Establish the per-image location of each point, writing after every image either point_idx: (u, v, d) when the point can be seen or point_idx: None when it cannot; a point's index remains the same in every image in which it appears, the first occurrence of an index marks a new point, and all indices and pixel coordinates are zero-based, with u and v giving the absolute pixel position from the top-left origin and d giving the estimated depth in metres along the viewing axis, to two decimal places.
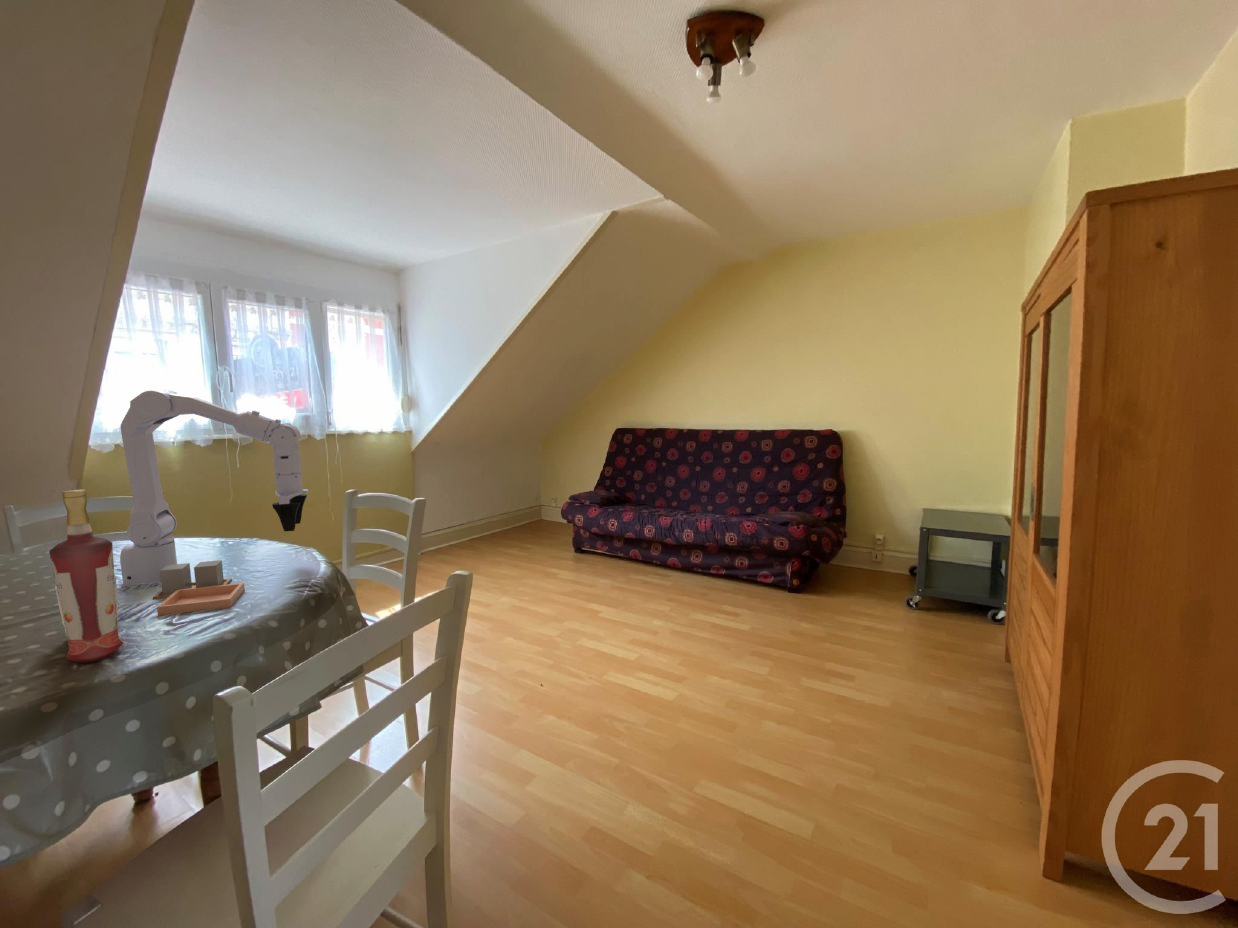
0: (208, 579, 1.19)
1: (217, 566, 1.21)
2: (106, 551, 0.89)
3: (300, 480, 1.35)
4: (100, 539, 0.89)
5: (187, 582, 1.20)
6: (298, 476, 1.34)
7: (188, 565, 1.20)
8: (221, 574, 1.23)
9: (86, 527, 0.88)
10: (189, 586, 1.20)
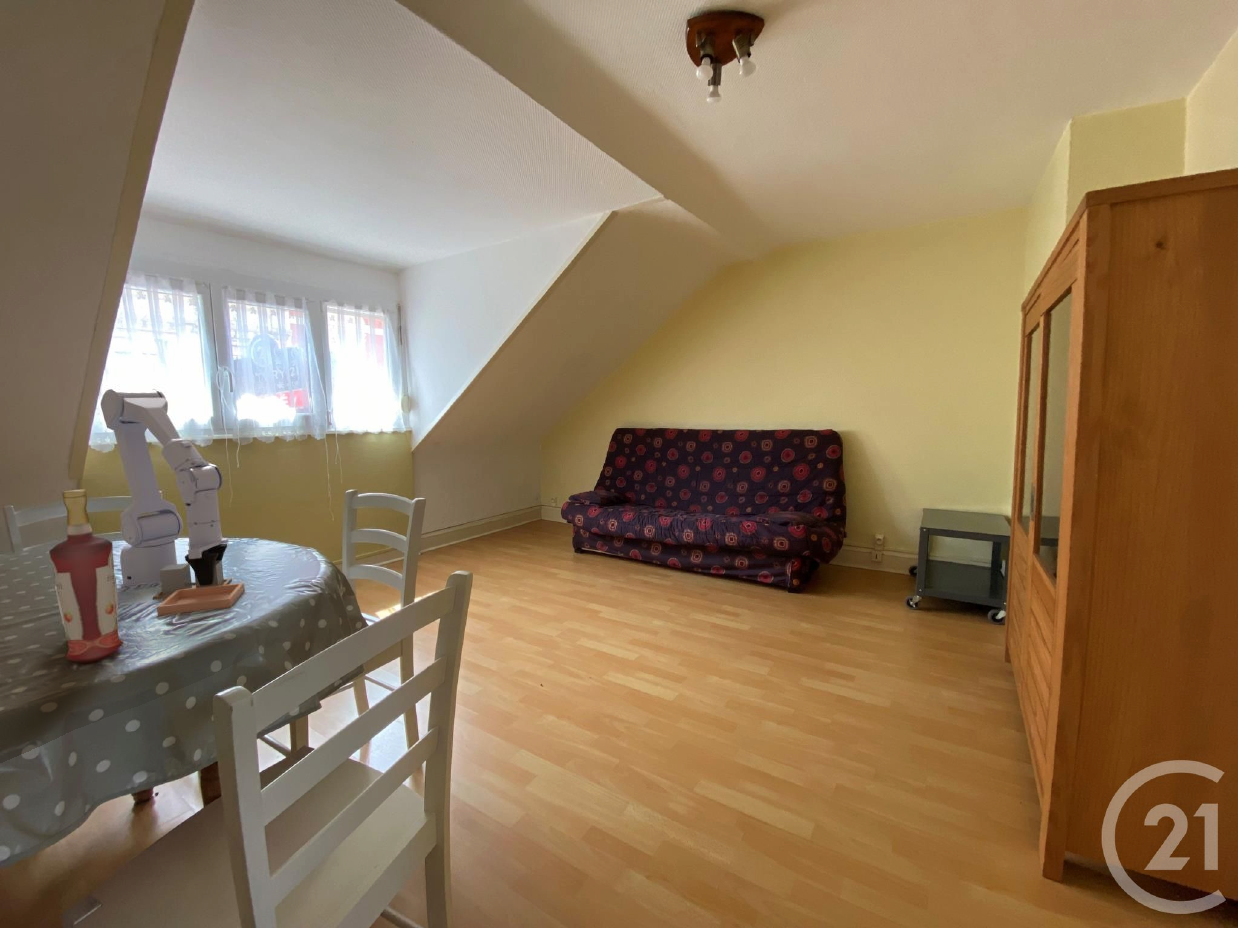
0: None
1: (217, 566, 1.21)
2: (106, 551, 0.89)
3: (217, 529, 1.20)
4: (100, 539, 0.89)
5: (187, 582, 1.20)
6: (215, 525, 1.19)
7: (188, 565, 1.20)
8: (221, 574, 1.23)
9: (86, 527, 0.88)
10: (189, 586, 1.20)
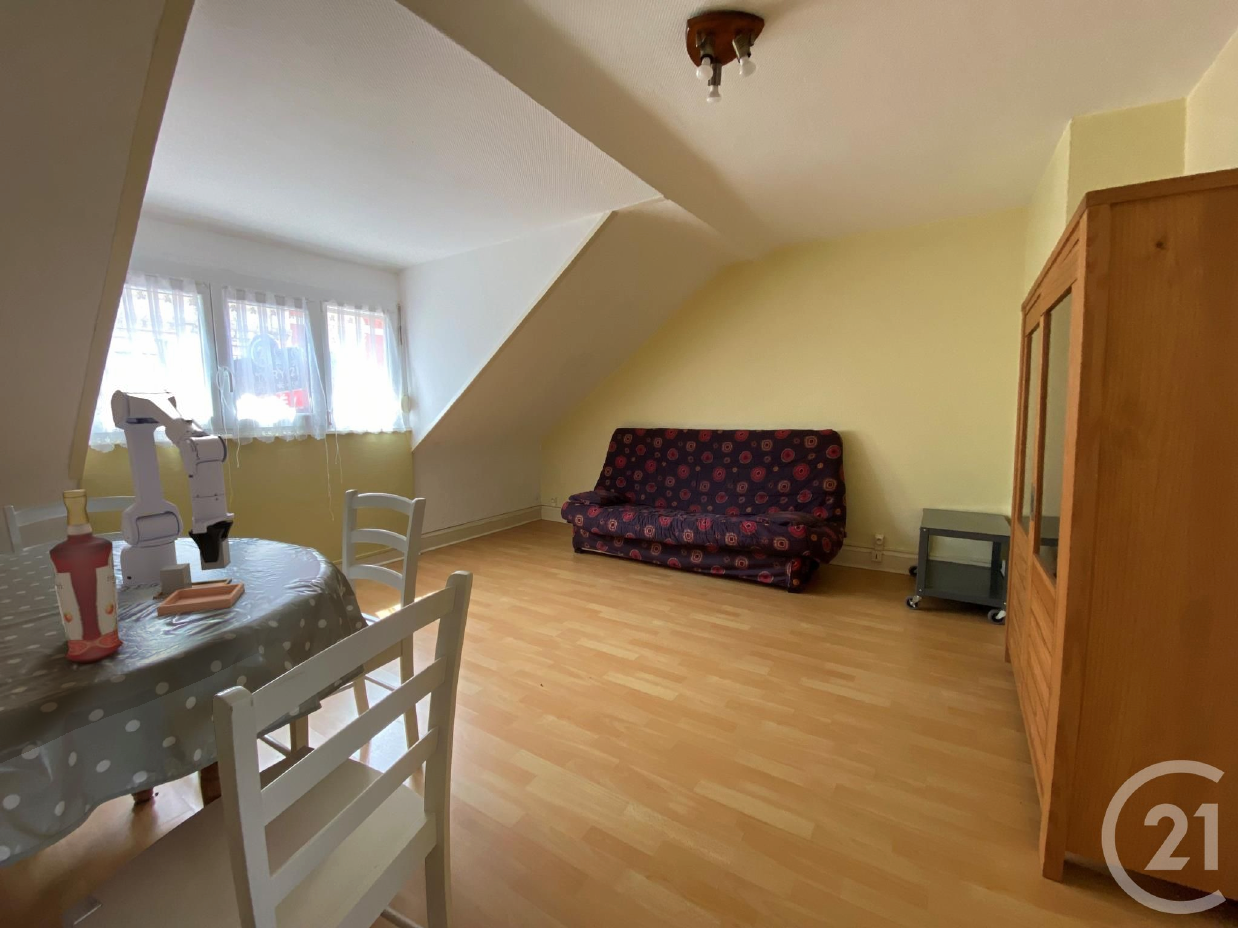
0: None
1: (224, 543, 1.13)
2: (106, 551, 0.89)
3: (223, 503, 1.13)
4: (100, 539, 0.89)
5: (187, 582, 1.20)
6: (220, 498, 1.12)
7: (188, 565, 1.20)
8: (228, 552, 1.16)
9: (86, 527, 0.88)
10: (189, 586, 1.20)
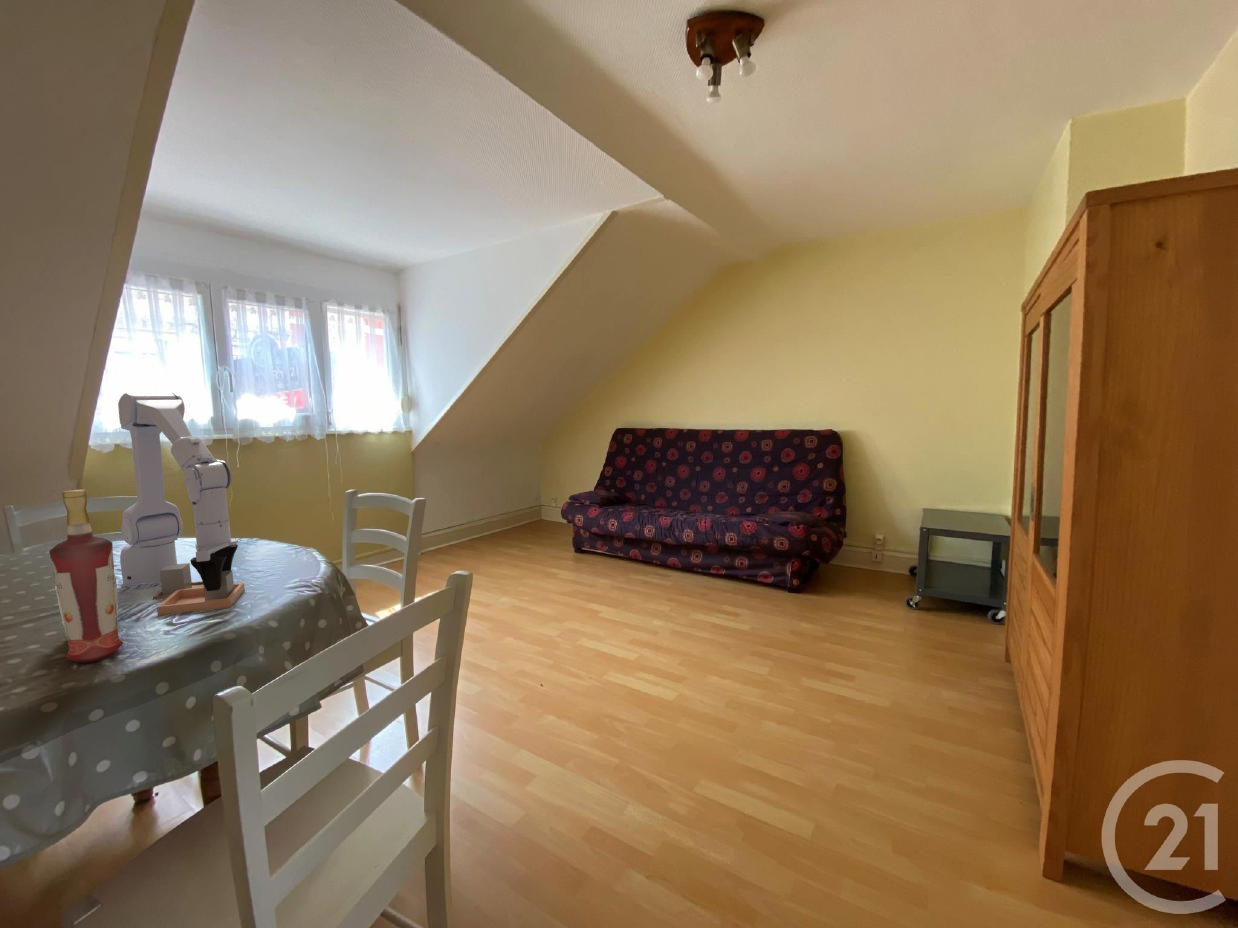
0: (218, 591, 1.12)
1: (228, 577, 1.13)
2: (106, 551, 0.89)
3: (227, 529, 1.12)
4: (100, 539, 0.89)
5: (187, 582, 1.20)
6: (224, 525, 1.11)
7: (188, 565, 1.20)
8: (232, 585, 1.15)
9: (86, 527, 0.88)
10: (189, 586, 1.20)
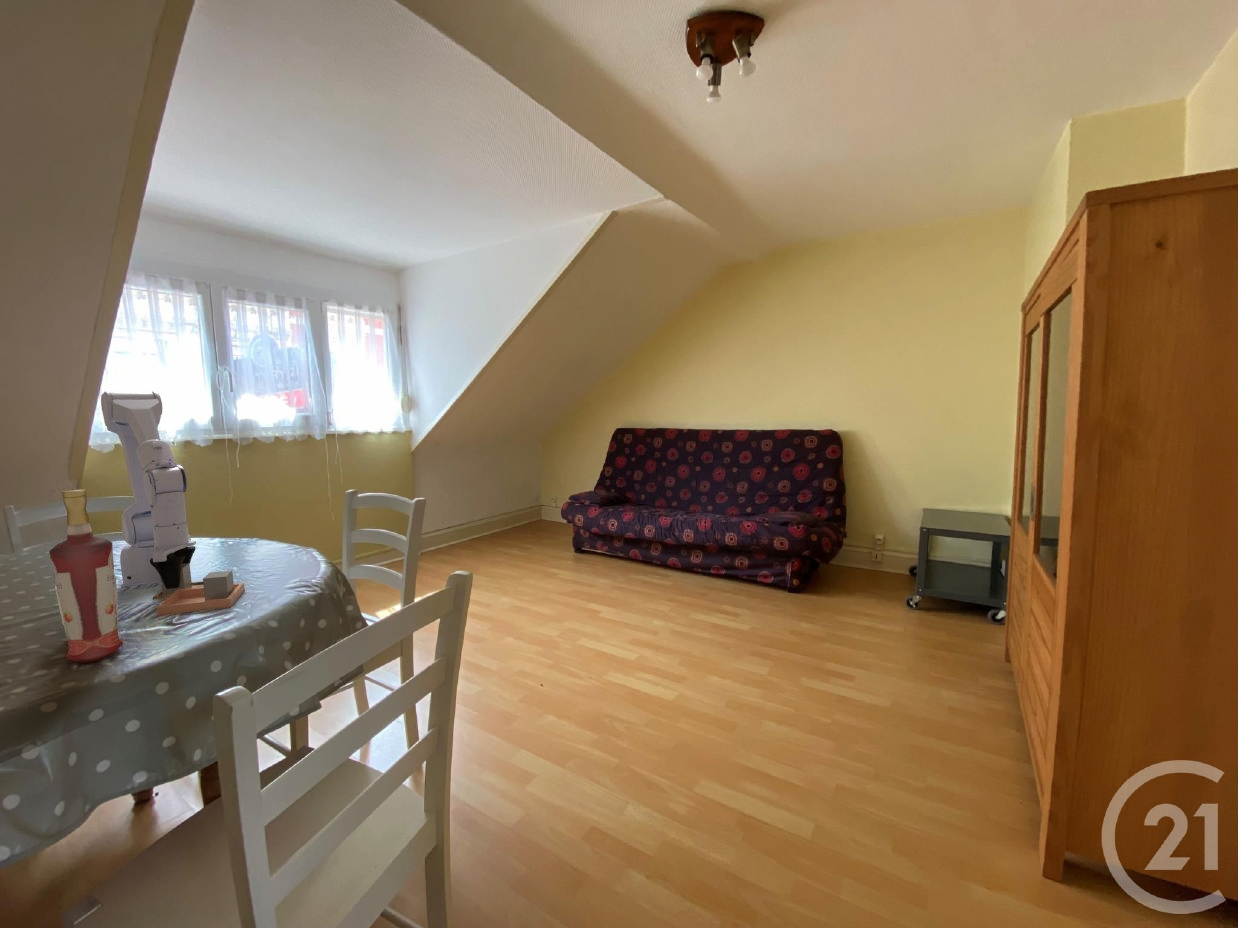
0: (218, 591, 1.12)
1: (228, 577, 1.13)
2: (106, 551, 0.89)
3: (184, 531, 1.18)
4: (100, 539, 0.89)
5: (187, 582, 1.20)
6: (181, 527, 1.17)
7: (188, 565, 1.20)
8: (232, 585, 1.15)
9: (86, 527, 0.88)
10: (189, 586, 1.20)
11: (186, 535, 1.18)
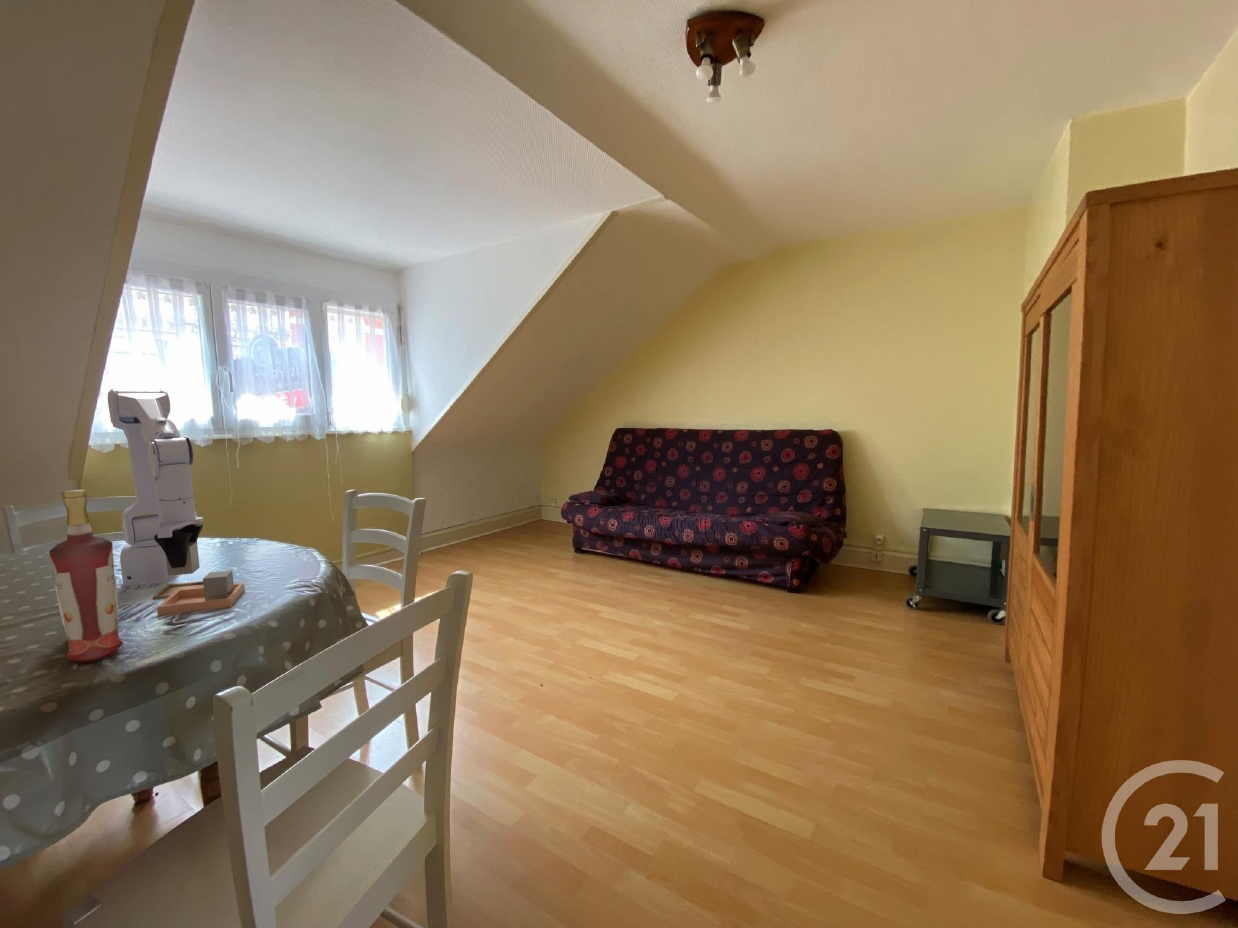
0: (218, 591, 1.12)
1: (228, 577, 1.13)
2: (106, 551, 0.89)
3: (191, 506, 1.10)
4: (100, 539, 0.89)
5: (195, 562, 1.12)
6: (188, 502, 1.09)
7: (195, 544, 1.13)
8: (232, 585, 1.15)
9: (86, 527, 0.88)
10: (196, 566, 1.12)
11: (193, 511, 1.10)
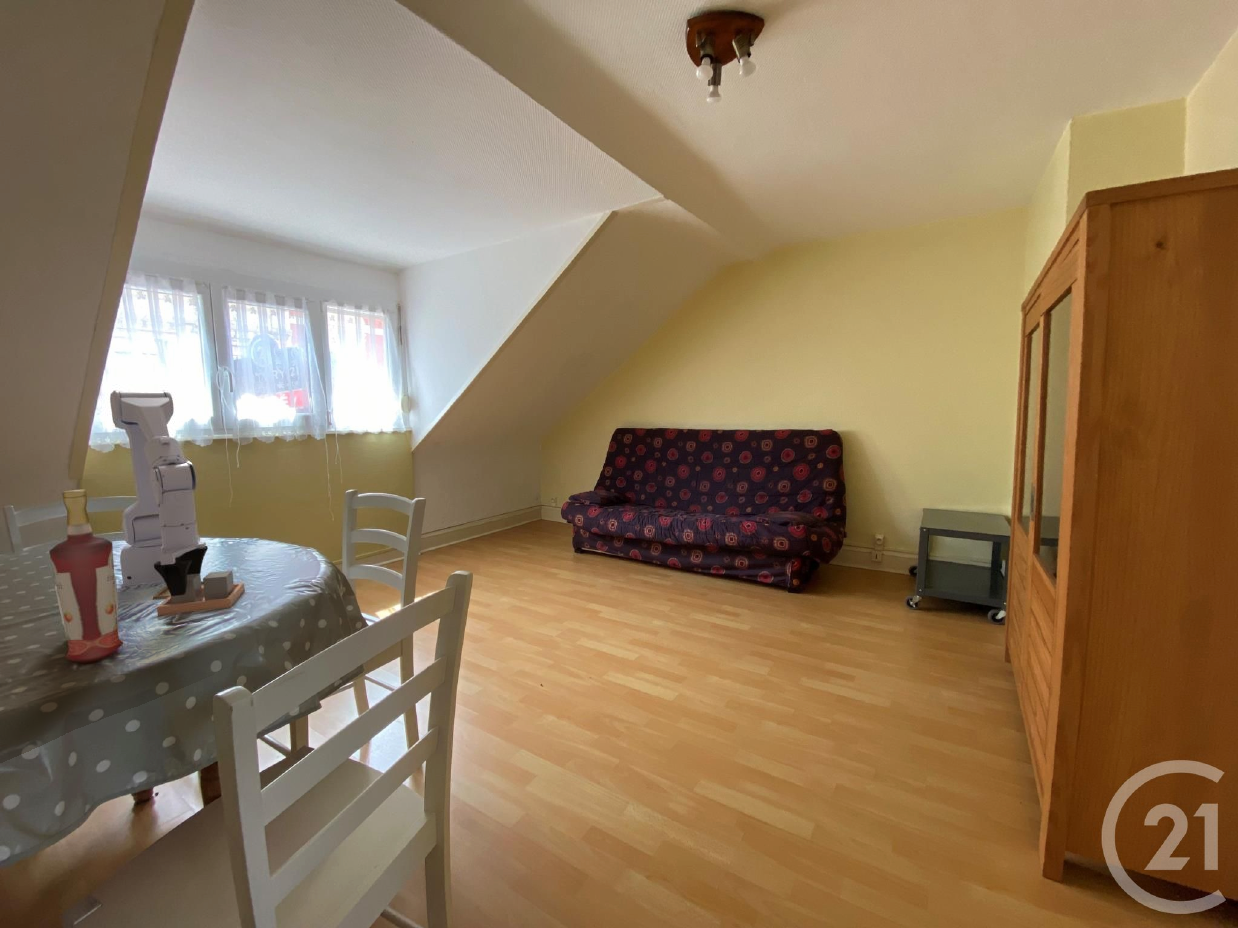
0: (218, 591, 1.12)
1: (228, 577, 1.13)
2: (106, 551, 0.89)
3: (194, 532, 1.10)
4: (100, 539, 0.89)
5: (198, 594, 1.12)
6: (190, 527, 1.09)
7: (199, 576, 1.13)
8: (232, 585, 1.15)
9: (86, 527, 0.88)
10: (200, 598, 1.13)
11: (196, 536, 1.11)
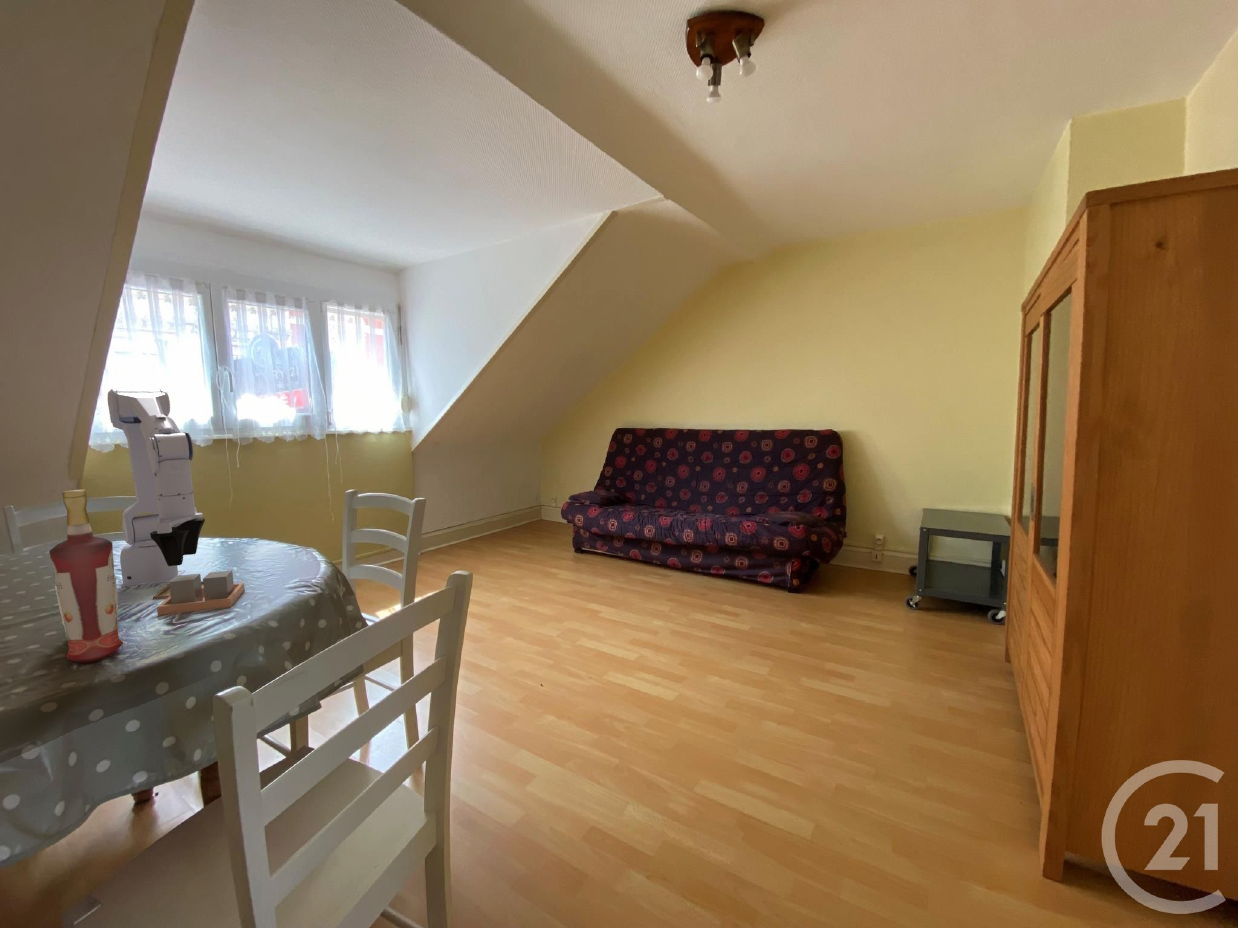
0: (218, 591, 1.12)
1: (228, 577, 1.13)
2: (106, 551, 0.89)
3: (190, 502, 1.09)
4: (100, 539, 0.89)
5: (198, 594, 1.12)
6: (187, 497, 1.09)
7: (199, 576, 1.13)
8: (232, 585, 1.15)
9: (86, 527, 0.88)
10: (200, 598, 1.13)
11: (192, 506, 1.10)
